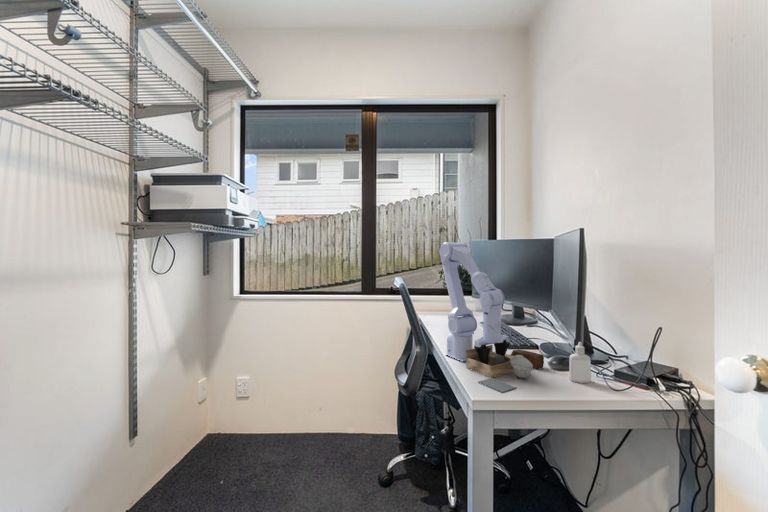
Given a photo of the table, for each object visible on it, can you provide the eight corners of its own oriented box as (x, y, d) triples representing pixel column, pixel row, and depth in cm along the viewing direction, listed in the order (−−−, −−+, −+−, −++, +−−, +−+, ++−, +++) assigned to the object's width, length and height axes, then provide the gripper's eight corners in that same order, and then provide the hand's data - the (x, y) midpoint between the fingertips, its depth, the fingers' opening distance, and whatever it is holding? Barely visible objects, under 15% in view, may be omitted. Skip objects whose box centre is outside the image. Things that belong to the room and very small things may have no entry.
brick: (544, 368, 116) (544, 354, 116) (538, 370, 114) (537, 356, 114) (516, 360, 125) (516, 347, 125) (510, 362, 122) (510, 349, 122)
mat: (478, 382, 103) (478, 381, 103) (491, 378, 106) (491, 377, 106) (502, 392, 95) (502, 391, 95) (516, 388, 98) (516, 387, 98)
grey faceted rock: (515, 372, 112) (515, 351, 112) (536, 377, 107) (536, 355, 107) (506, 377, 107) (506, 355, 107) (528, 383, 102) (528, 360, 102)
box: (480, 367, 117) (480, 352, 117) (488, 365, 119) (488, 351, 119) (496, 373, 111) (496, 358, 111) (504, 371, 113) (504, 356, 113)
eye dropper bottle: (589, 385, 100) (589, 345, 100) (568, 381, 104) (568, 342, 104) (591, 381, 104) (591, 342, 104) (571, 377, 107) (570, 339, 107)
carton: (465, 367, 116) (465, 350, 116) (496, 360, 124) (496, 343, 124) (491, 377, 107) (491, 359, 107) (523, 369, 115) (523, 351, 115)
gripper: (486, 329, 107) (486, 372, 108) (516, 324, 115) (516, 364, 115) (469, 325, 113) (470, 366, 114) (499, 321, 121) (499, 359, 121)
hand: (492, 365), depth 115 cm, fingers open, 7 cm apart
